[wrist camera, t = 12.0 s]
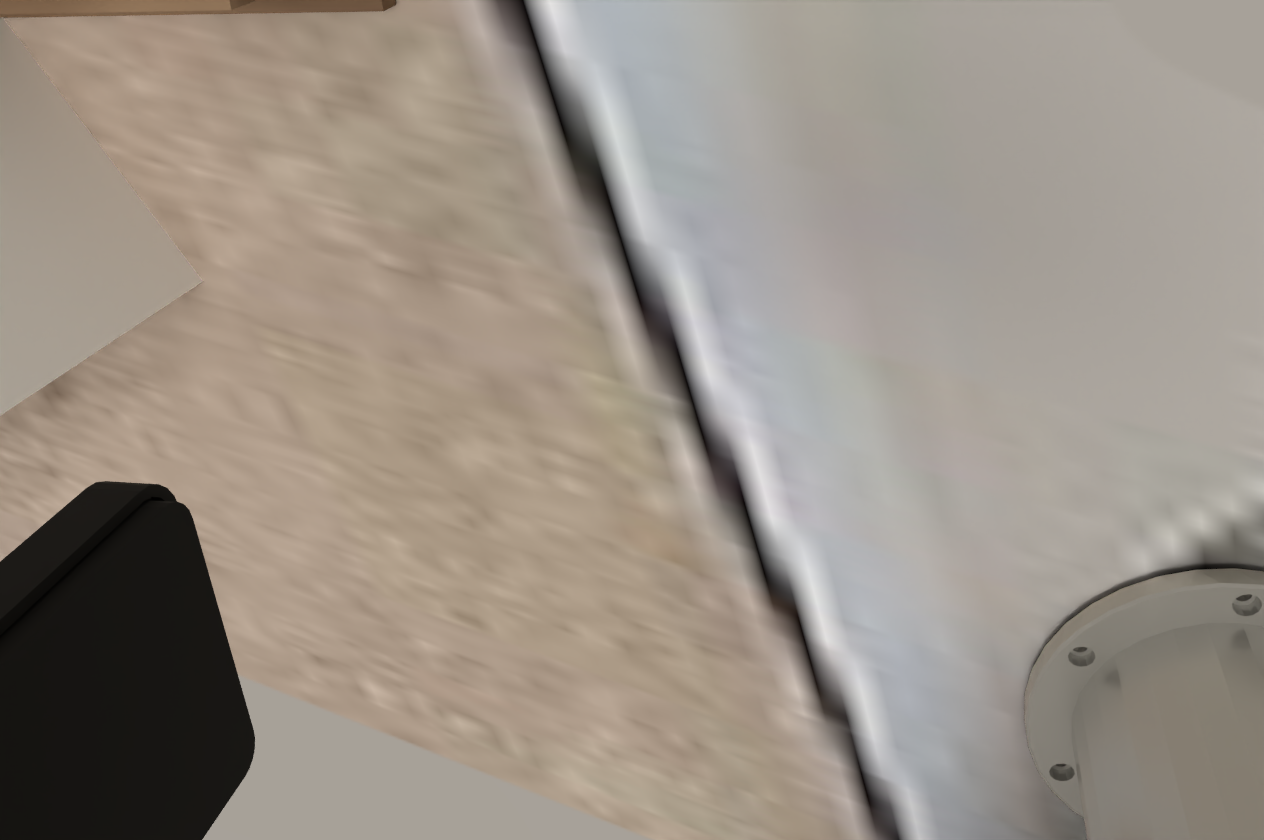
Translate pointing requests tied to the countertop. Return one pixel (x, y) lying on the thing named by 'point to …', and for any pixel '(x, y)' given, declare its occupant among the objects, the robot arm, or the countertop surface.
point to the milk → (67, 236)
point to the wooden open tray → (180, 7)
